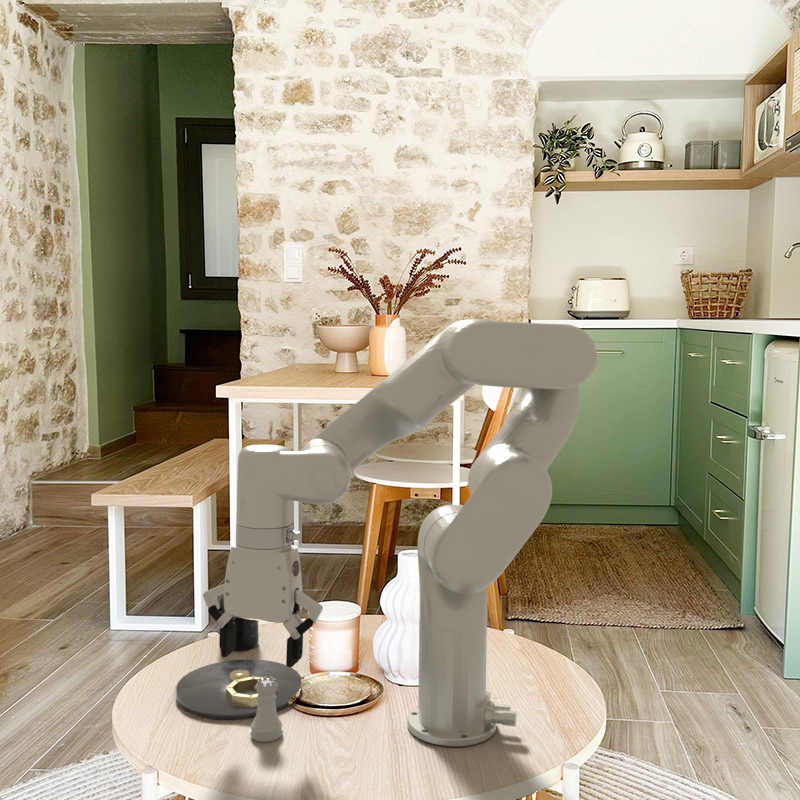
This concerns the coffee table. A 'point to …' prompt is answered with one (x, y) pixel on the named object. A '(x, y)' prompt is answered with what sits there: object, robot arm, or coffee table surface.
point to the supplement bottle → (244, 631)
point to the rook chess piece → (266, 712)
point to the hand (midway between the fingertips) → (260, 658)
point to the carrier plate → (234, 688)
